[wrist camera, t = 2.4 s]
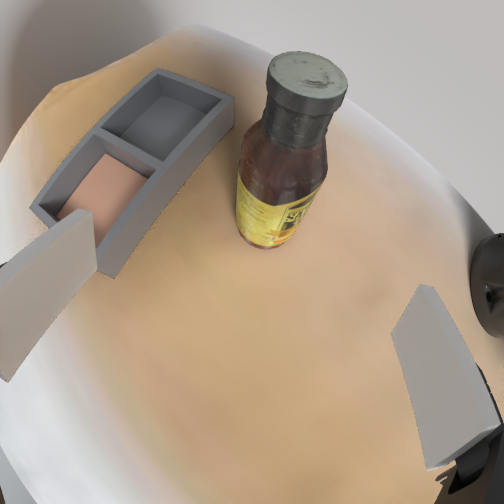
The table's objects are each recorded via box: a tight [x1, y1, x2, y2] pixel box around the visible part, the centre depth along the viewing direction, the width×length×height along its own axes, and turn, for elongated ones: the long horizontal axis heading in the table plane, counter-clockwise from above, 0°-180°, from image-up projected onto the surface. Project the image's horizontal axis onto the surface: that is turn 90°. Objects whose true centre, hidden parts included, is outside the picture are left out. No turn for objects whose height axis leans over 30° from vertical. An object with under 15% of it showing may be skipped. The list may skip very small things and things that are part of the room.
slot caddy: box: [29, 68, 235, 279], centre depth 29 cm, size 12×23×5 cm, turn 148°
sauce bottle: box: [236, 51, 348, 249], centre depth 21 cm, size 6×6×20 cm
